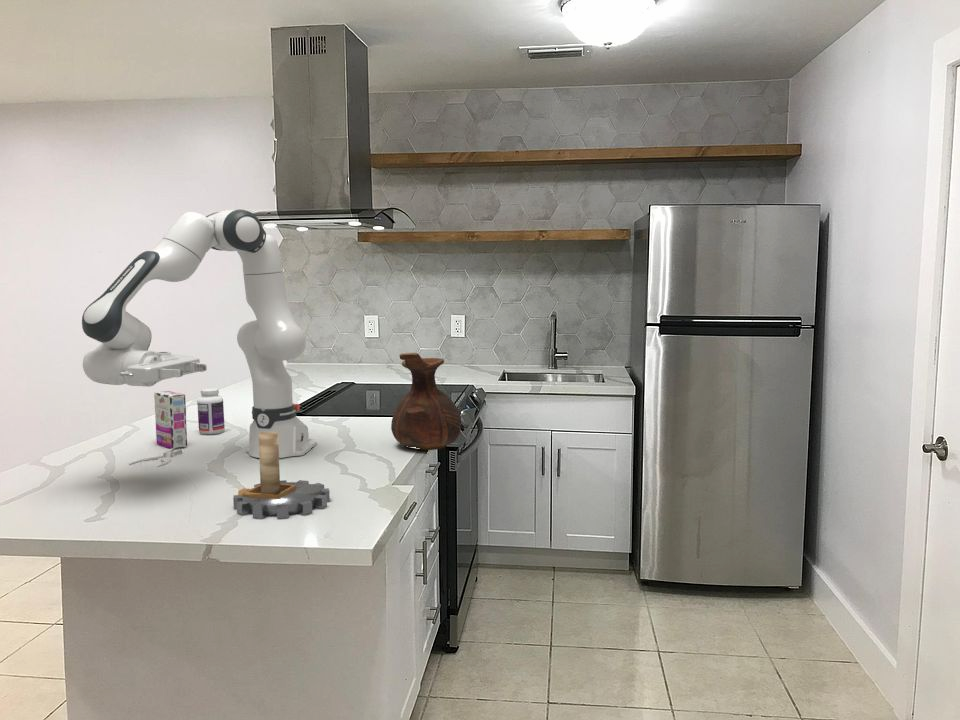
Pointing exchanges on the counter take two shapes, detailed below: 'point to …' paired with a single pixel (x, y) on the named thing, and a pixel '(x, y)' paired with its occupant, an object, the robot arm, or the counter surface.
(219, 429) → the pill bottle
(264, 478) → the drive pin
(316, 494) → the sprocket
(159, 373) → the robot arm
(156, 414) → the candy bar box
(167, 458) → the pliers
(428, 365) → the jug
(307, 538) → the counter surface
